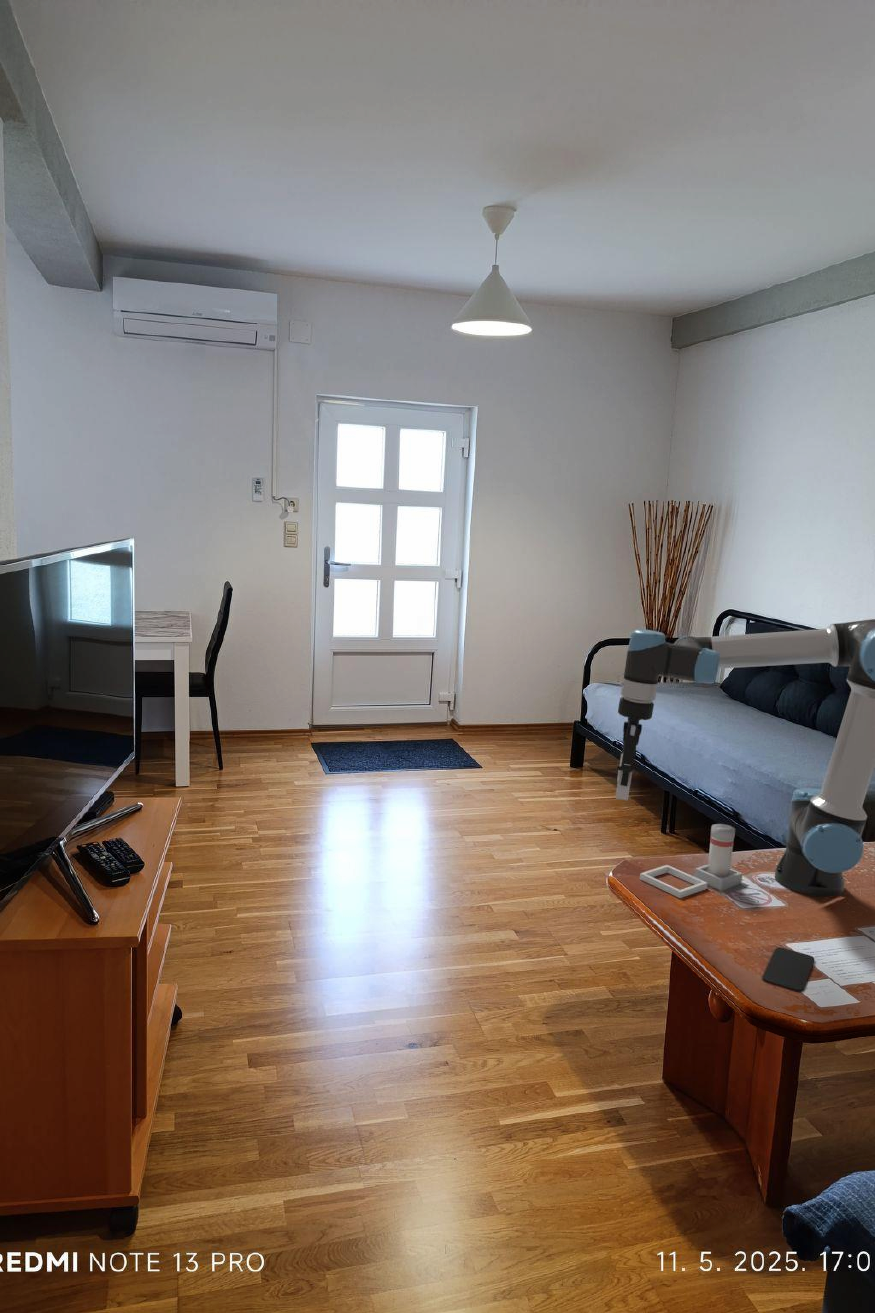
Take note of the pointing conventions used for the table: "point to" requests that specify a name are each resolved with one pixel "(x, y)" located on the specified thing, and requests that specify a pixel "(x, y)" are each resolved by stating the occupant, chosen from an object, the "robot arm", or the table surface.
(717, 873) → the cylinder
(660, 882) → the grey rectangular frame
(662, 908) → the table surface
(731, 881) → the box
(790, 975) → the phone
